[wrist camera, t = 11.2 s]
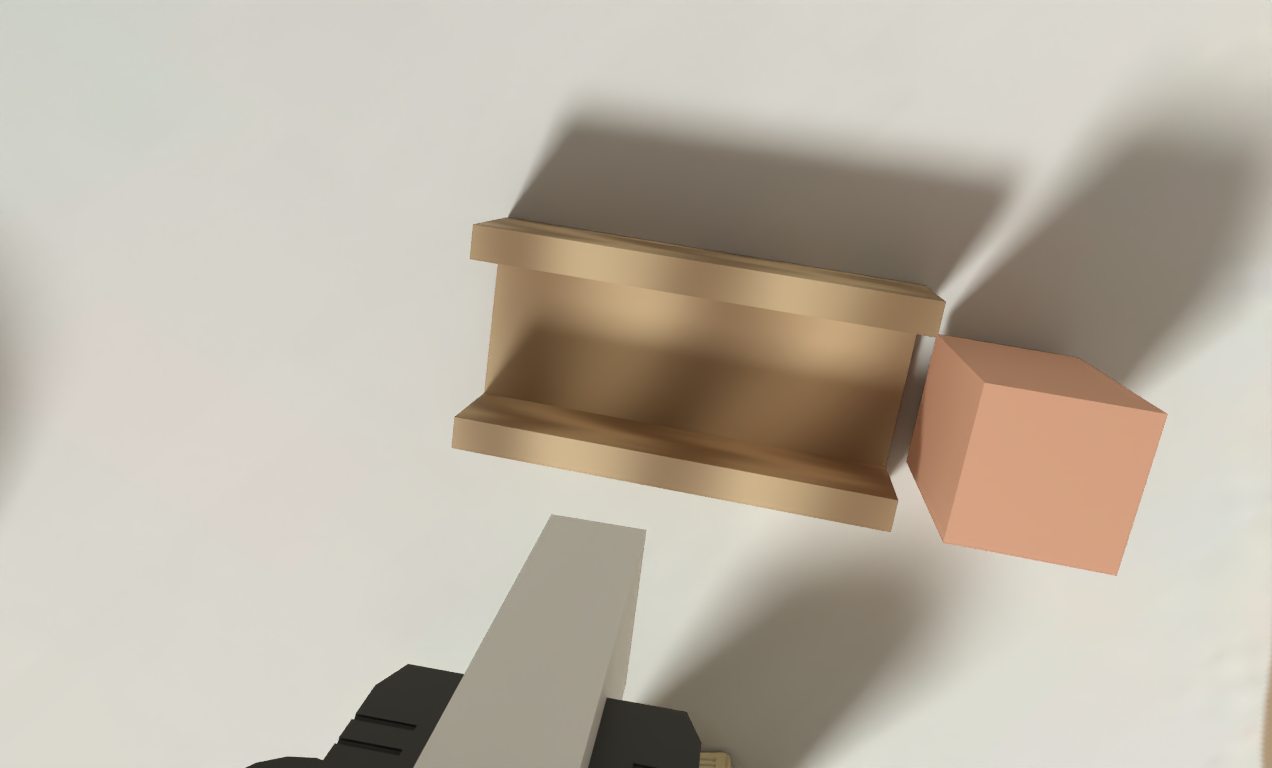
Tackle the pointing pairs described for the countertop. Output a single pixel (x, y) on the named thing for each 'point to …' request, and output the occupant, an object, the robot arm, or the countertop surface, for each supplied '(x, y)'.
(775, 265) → the chute
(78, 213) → the countertop surface
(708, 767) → the skincare box
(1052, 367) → the block
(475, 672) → the robot arm
